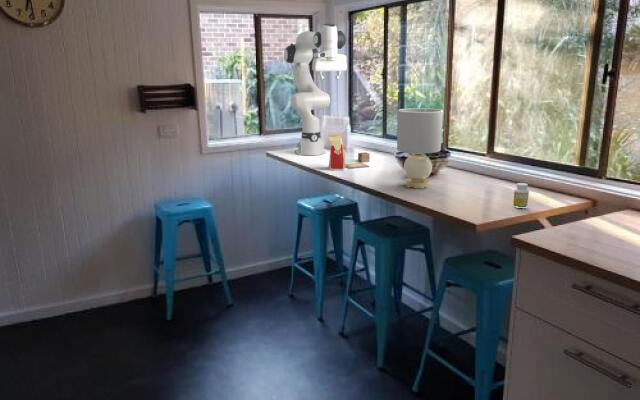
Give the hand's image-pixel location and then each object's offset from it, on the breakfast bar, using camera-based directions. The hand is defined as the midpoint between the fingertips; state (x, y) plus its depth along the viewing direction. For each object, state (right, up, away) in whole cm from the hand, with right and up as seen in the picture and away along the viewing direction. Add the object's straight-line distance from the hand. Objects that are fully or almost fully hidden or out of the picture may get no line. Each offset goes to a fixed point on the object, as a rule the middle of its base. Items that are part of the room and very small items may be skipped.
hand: (329, 79), depth 285 cm
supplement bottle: (+74, -71, -83) cm, 132 cm away
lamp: (+40, -61, -46) cm, 87 cm away
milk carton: (+4, -51, -6) cm, 51 cm away
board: (+13, -48, +3) cm, 50 cm away
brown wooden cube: (+20, -45, +13) cm, 51 cm away
